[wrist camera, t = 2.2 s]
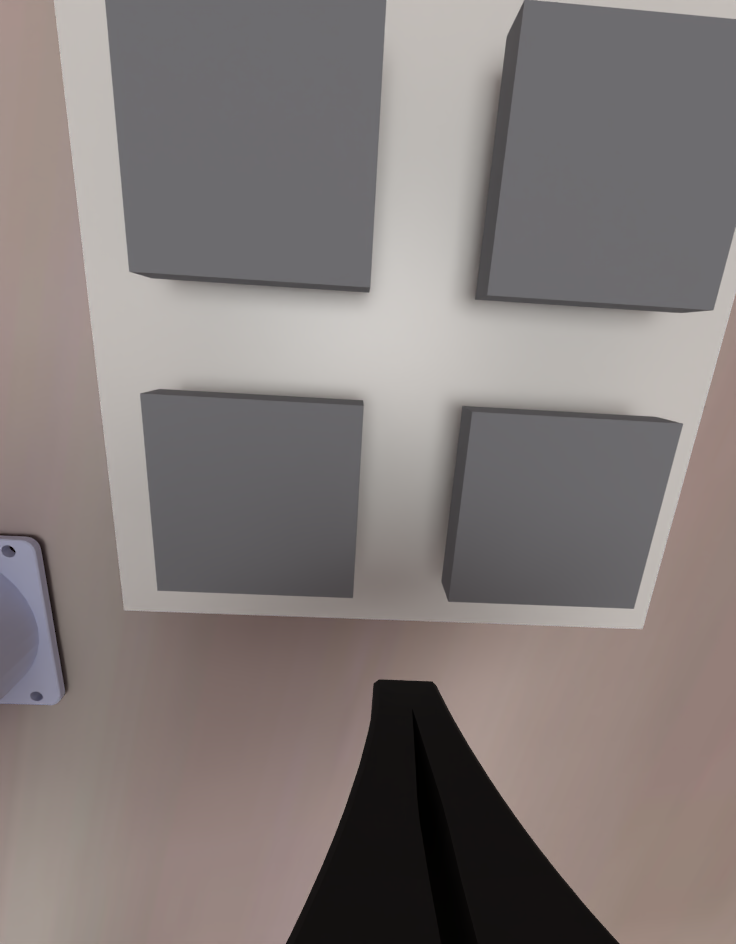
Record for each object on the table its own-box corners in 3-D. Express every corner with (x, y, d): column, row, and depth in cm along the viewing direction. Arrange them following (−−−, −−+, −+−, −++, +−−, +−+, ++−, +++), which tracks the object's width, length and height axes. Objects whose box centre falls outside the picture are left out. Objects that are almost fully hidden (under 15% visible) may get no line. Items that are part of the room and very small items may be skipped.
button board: (148, 582, 18) (124, 610, 16) (90, -30, 13) (42, -97, 11) (613, 600, 19) (642, 629, 17) (755, 32, 13) (822, -20, 12)
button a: (193, 545, 16) (157, 590, 13) (184, 382, 15) (140, 393, 12) (353, 552, 17) (352, 597, 14) (362, 393, 15) (363, 406, 12)
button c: (178, 286, 14) (129, 271, 11) (164, 53, 12) (101, -41, 9) (367, 299, 14) (370, 287, 11) (380, 71, 12) (387, -14, 9)
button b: (432, 555, 17) (448, 601, 14) (449, 398, 15) (472, 411, 12) (585, 562, 17) (634, 608, 14) (619, 407, 15) (683, 423, 12)
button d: (459, 304, 14) (486, 295, 11) (484, 81, 12) (524, -1, 9) (640, 317, 14) (713, 309, 11) (688, 98, 13) (789, 23, 10)
